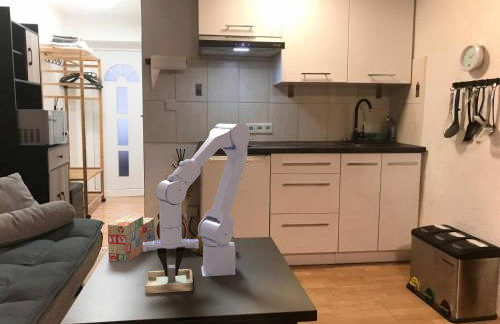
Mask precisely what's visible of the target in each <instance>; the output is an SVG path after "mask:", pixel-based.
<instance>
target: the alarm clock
mask: <svg viewBox="0 0 500 324" xmlns="http://www.w3.org/2000/svg"><path fill="white" fill-rule="evenodd" d="M156 216H157V220H158V222H157V224H156V227H155V233H156V235H157V238H158V240H160V214H159V212H158V213H157V215H156ZM181 217H182V239H187V237H188V234H189V230H190V229H189V224H188V222H187V220H186V219H187V213H186V211H185V210H184V209H181Z"/></svg>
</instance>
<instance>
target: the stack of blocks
mask: <svg viewBox="0 0 500 324" xmlns="http://www.w3.org/2000/svg"><path fill="white" fill-rule="evenodd" d="M151 241H156V225H155V218H154V217H144V216H143V215H130V214H129V215H128V214H127V215H125V216H122V217H120V218H118V219H116V220H114V221H112V222H111V223H108V224H107V244H108V245H107V246H108V262H112V263H113V262H131V261H132V260H134V259H135V258H136V257H137V256H139V255H141V253H143V252H144V251H143V242H151Z"/></svg>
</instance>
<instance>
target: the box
mask: <svg viewBox="0 0 500 324" xmlns="http://www.w3.org/2000/svg"><path fill="white" fill-rule="evenodd" d="M192 271H193V269H192V268H186V269H179V271H178V275H186V279H187V283H174V284H157V285H156V277H163V276H165V272H164V270H153V271H151V270H150V271H149V270H148V271H147V282H146V284H145V285H144V294H158V293H175V292H189V291H192V292H193V290H194V289H193V287H194V286H193V272H192Z"/></svg>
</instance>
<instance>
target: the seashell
mask: <svg viewBox="0 0 500 324" xmlns="http://www.w3.org/2000/svg"><path fill="white" fill-rule="evenodd" d="M194 239H198V241H199V248H192V252H193V253H197V254H199V255H201V256H203V241H202V237H201V236H200V235H199V233H197V234H196V235H195V238H194ZM230 242H234V243H235V236H232V239H231V240H230Z"/></svg>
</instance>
